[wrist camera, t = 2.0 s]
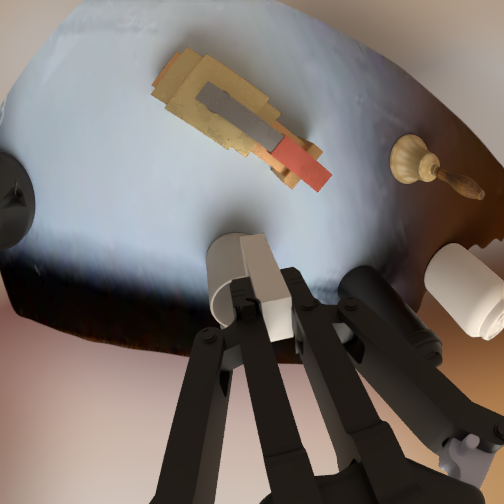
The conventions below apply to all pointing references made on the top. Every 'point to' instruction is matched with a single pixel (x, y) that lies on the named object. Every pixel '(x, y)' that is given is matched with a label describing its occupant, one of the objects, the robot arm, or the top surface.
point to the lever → (265, 135)
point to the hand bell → (426, 167)
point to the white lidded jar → (467, 290)
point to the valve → (213, 125)
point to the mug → (224, 275)
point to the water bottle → (391, 310)
